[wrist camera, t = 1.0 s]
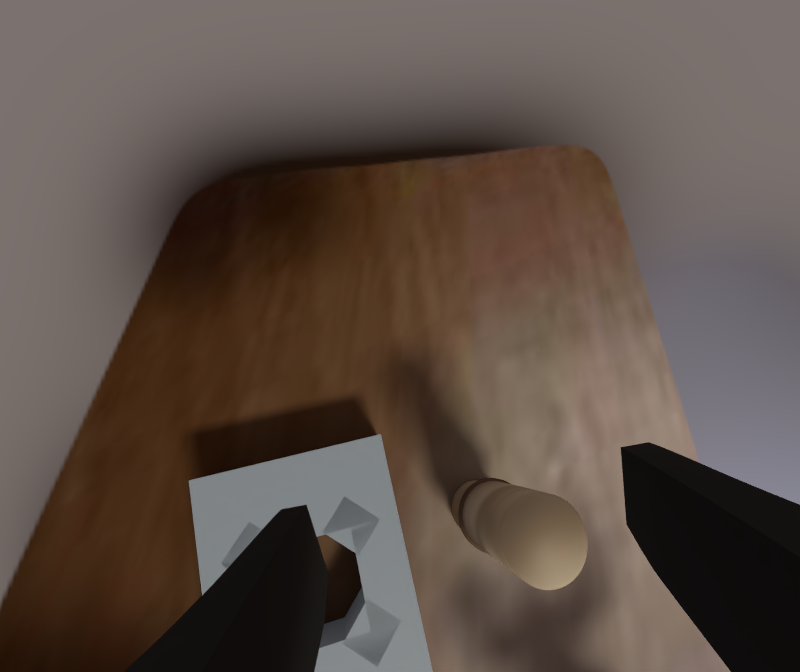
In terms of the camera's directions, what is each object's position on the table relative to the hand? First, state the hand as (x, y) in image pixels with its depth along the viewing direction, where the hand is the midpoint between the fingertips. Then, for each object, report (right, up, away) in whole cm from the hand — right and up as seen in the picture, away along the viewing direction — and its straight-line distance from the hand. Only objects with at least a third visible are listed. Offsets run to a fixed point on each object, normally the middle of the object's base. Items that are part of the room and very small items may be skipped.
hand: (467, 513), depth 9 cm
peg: (+3, -5, +13) cm, 14 cm away
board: (-6, -8, +11) cm, 15 cm away
